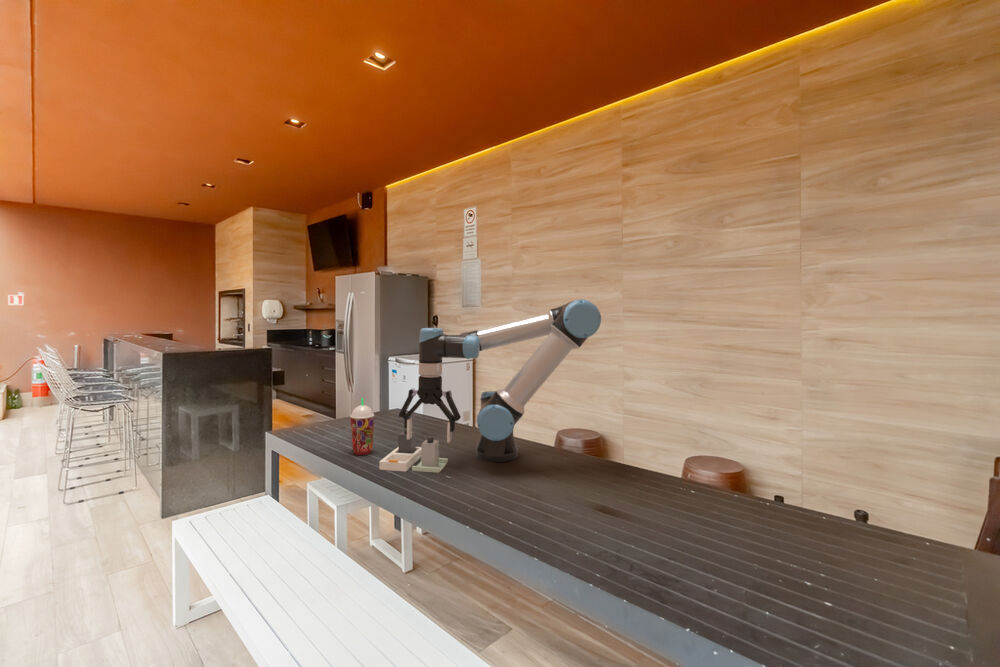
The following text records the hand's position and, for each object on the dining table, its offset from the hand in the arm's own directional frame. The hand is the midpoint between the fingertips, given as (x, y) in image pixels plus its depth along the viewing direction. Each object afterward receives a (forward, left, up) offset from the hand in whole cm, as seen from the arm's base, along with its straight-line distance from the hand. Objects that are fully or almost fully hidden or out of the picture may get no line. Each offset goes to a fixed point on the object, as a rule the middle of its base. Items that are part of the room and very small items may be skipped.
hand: (429, 439), depth 146 cm
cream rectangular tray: (+10, -3, -9) cm, 14 cm away
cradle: (0, 0, -9) cm, 9 cm away
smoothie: (+28, -10, -9) cm, 31 cm away
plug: (0, 0, -9) cm, 9 cm away
